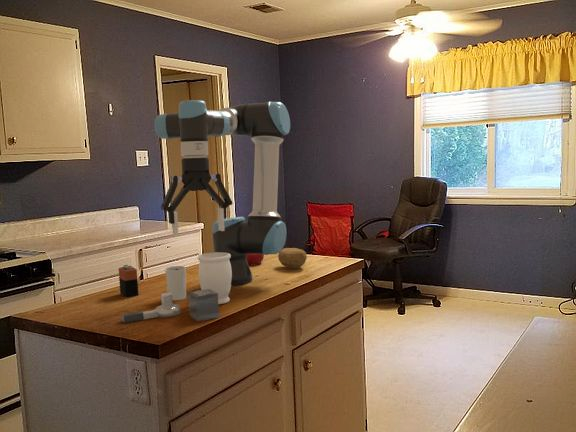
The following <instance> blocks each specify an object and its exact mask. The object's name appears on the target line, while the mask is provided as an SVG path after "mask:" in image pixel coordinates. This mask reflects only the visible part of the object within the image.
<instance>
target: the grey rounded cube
mask: <svg viewBox="0 0 576 432" xmlns="http://www.w3.org/2000/svg"><path fill="white" fill-rule="evenodd" d="M188 303H189V317H191V318H192V319H194V320H195V321H197V322H201V321H207V320H211V319H218V318H220V312H219V311H220V308H219V305H218V293H216V292H214V291H212V290H211V289H206V290H195V291H189V292H188Z"/></svg>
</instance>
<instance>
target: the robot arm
mask: <svg viewBox="0 0 576 432" xmlns="http://www.w3.org/2000/svg"><path fill="white" fill-rule="evenodd" d="M206 104H207V103H206V102H205V101H204V100H199V99H196V100H195V99H192V100H191V99H190V100H183V101H182V100H181V101H180V102H179V104H178V112H172V113H171V112H170V113H161V114H159V115H157V116H156V117H155V120H154V130H155V134H156V135H157V137H159V139H161V140H163V139H164V140H165V139H167V140H171V139H180V157H183V158H181V172H182V173H181V176H179V175H171V177H170V184H169V188H168V190H167V192H166V193H165V195H164V196H165V197H164V199H163V202H162V204H161V206H160V209H161V210H162V211H166V212H167V216H168V223H169V224H170V225H171V226H172V228H171V229H172V235H173V236H175V237H178V236H179V221H178V211H176V209H177V207H178V206H179V205H180V204H181V202H182V201H183V199H184V198H185V197H186V195H187V194H188V193H189V192H196V191H200V192H201V191H206V193H207V194H208V195H209V196H210V197H211V199H213V201H214V202H215V203H217V204H218V207H217V220H216V221H214V222H213V224H212V240H213V253H215V252H223V253H229V254H231V258H230V259H229V261H230V264H231V269H232V280H231V287H233V286H239V285H240V286H241V285H245V284H248V283H250V282H252V281H253V273H252V271H251V268H250V265H248V262H247V259H246V254H264V256H268V255H277V254H279V252H280V251H281V250H282V249H284V246H285V244H286V240H287V226H286V223H285V222H283V221H282V217H281V215H280V213H278V187H279V185H278V184H279V159H280V145H281V144H282V143H283V142H284V139H285V137H284V136H286V135H288V134H289V133H290V131H291V119H290V115H289V111H288V109H287V107H286V106H285V104H284V103H282V102H281V101H267V102H266V101H265V102H256V103H255V102H254V103H243V104H242V103H241V104H237V105H233V106H229V107H222V108H220V109H218V110H210V109H207V105H206ZM223 136H239V137H251V138H250V139H251V141H252V143H253V144H254V162H253V163H254V164H253V165H254V167H253V191H252V195H253V196H252V210H251V212H250V213H249V214H248V215H247V220H246V218H245V217H244V216H235V217H229V218H227V217H228V215H227V213H228V212H227V208H228V207H230V206H232V205H233V200H232V199H231V197H230V195H229V193H228V192H227V189H226V188H225V186H224V183H223V181H222V178H221V177H222V176H221V174H220V173H214V174H211V173H210V158H209V157H207V156H209V140H208V139H209V137H211V138H218V137H223ZM211 180H212V182H213V183H214V185H215V186H216V188H217V190H218V192H219V194H220V195H221V196H220V195H218V193H217V192H216V191H215V190H214V188H213V187H212V186H211V184H209V183H210V182H211ZM181 182H182V183H183V186H182V187H181V188H180V190H179V192H178V194H177V195H176V197H175V198H174V199H173V197H174V195H175V192H176V190H177V188H178V185H179V184H180V183H181ZM172 200H173V201H172Z"/></svg>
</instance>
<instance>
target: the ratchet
mask: <svg viewBox="0 0 576 432" xmlns="http://www.w3.org/2000/svg"><path fill="white" fill-rule="evenodd" d="M160 297H161V298H160V299H161V305H159V306H158V305H157V306H156V307H155V308H154V309H151V310H148V311H147V310H146V311H142V310H138V311H130V312H125V313H121V321H122V323H124V324H128V323H134V322H139V321H144V320H149V319H153V318H161V319H162V318H163V319H164V318H172V317H173V318H174V317H176V316H179V315H180V314H181V306H180V305H179V304H174V302H173V301H174V300H173V297H172V294H171V293H168V292H165V293H164V292H163V293H160Z"/></svg>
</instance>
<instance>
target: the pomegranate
mask: <svg viewBox="0 0 576 432" xmlns="http://www.w3.org/2000/svg"><path fill="white" fill-rule="evenodd" d="M264 257H265V255H264V254H246V259H247V262H248V265H249V266H256V264H257V265H259V264H261V263H262V262H263V260H264Z"/></svg>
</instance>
